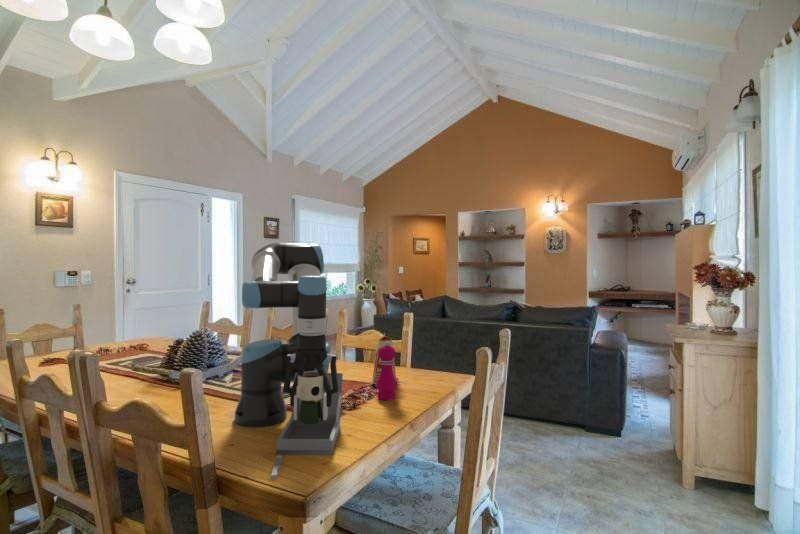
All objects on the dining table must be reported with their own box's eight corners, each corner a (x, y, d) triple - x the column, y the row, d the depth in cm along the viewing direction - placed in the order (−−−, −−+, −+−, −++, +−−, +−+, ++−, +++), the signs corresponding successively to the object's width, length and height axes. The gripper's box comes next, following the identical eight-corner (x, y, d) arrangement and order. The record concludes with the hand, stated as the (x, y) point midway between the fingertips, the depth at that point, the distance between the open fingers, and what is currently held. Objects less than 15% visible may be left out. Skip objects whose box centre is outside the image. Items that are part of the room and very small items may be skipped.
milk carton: (395, 385, 168) (396, 334, 168) (371, 385, 169) (372, 333, 168) (396, 379, 178) (396, 330, 177) (373, 378, 178) (374, 329, 177)
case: (276, 454, 109) (276, 394, 109) (295, 421, 130) (295, 372, 130) (332, 454, 109) (333, 395, 109) (342, 422, 131) (342, 372, 130)
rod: (276, 480, 97) (276, 474, 97) (271, 480, 97) (271, 475, 97) (282, 459, 107) (282, 454, 107) (277, 459, 107) (277, 454, 107)
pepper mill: (394, 401, 150) (394, 343, 149) (373, 400, 151) (374, 342, 151) (398, 395, 157) (399, 339, 156) (378, 393, 158) (379, 338, 158)
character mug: (307, 431, 111) (308, 381, 111) (286, 426, 114) (286, 377, 114) (333, 418, 120) (334, 371, 120) (313, 413, 124) (313, 368, 124)
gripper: (270, 335, 113) (269, 423, 113) (347, 336, 113) (346, 423, 114) (277, 330, 121) (277, 413, 121) (350, 331, 121) (349, 413, 121)
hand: (310, 418), depth 117 cm, fingers closed on character mug, 7 cm apart
